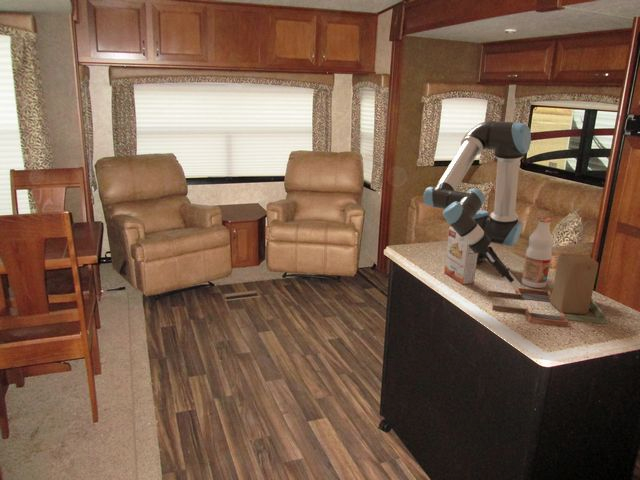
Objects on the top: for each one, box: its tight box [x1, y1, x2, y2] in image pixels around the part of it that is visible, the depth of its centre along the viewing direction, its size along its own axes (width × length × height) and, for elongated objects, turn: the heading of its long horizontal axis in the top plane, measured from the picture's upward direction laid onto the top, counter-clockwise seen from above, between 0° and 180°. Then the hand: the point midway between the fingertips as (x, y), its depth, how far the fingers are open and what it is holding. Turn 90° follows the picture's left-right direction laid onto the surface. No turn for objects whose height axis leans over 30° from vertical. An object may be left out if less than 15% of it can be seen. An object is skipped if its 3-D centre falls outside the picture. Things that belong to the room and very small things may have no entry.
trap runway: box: [487, 287, 607, 328], centre depth 181 cm, size 29×37×3 cm
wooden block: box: [550, 253, 599, 315], centre depth 179 cm, size 10×10×20 cm
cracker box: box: [444, 226, 478, 285], centre depth 204 cm, size 14×6×21 cm, turn 18°
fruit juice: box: [521, 216, 554, 289], centre depth 200 cm, size 9×9×28 cm
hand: (517, 286), depth 181 cm, fingers closed
